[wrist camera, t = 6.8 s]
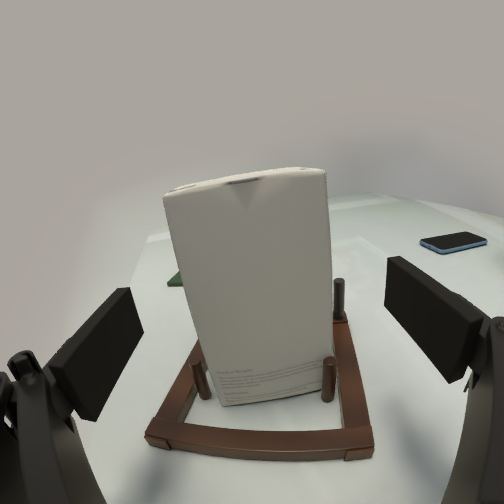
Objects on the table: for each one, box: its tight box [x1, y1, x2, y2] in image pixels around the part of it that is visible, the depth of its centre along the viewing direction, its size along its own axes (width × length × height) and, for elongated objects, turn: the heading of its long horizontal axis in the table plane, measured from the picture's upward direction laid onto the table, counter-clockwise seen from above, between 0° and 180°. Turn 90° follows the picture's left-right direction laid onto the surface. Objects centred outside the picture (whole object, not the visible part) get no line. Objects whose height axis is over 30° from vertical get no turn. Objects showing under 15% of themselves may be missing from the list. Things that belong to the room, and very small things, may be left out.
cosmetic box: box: [163, 167, 333, 406], centre depth 17 cm, size 8×6×15 cm
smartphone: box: [420, 232, 487, 253], centre depth 41 cm, size 7×1×15 cm
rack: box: [144, 278, 375, 461], centre depth 19 cm, size 16×14×5 cm
